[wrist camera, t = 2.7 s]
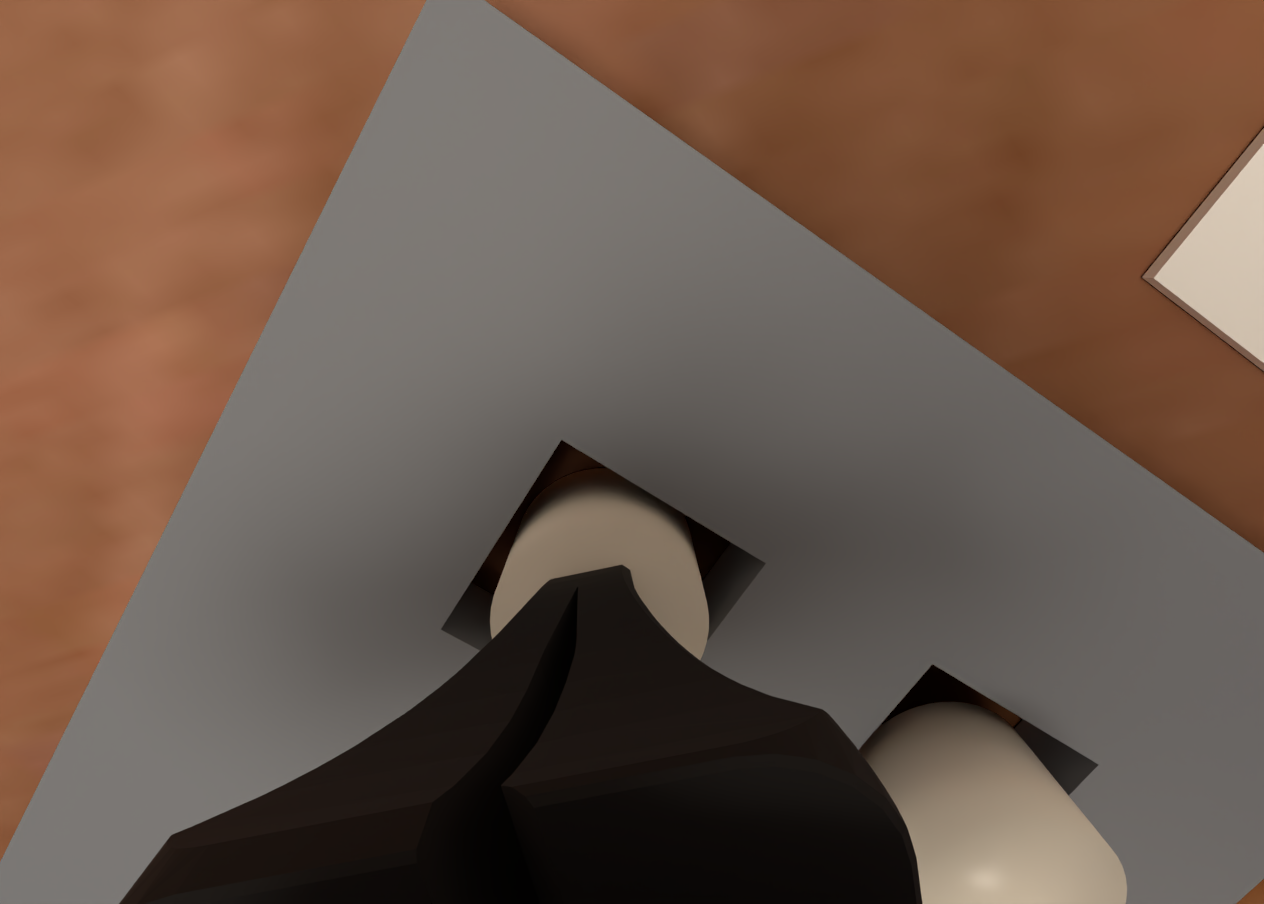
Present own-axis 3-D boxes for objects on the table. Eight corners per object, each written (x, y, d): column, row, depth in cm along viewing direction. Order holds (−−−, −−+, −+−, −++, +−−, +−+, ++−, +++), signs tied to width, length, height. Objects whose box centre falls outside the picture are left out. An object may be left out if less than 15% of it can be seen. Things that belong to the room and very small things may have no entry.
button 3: (726, 526, 14) (751, 595, 11) (630, 658, 15) (632, 752, 12) (574, 434, 14) (562, 483, 11) (483, 576, 14) (450, 655, 12)
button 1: (1064, 754, 14) (1174, 880, 11) (948, 875, 15) (1024, 1019, 12) (925, 671, 13) (1005, 781, 11) (813, 801, 14) (859, 935, 11)
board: (1360, 640, 15) (1466, 696, 13) (768, 1208, 20) (783, 1309, 18) (471, 16, 12) (441, -30, 10) (20, 895, 17) (-58, 978, 15)
